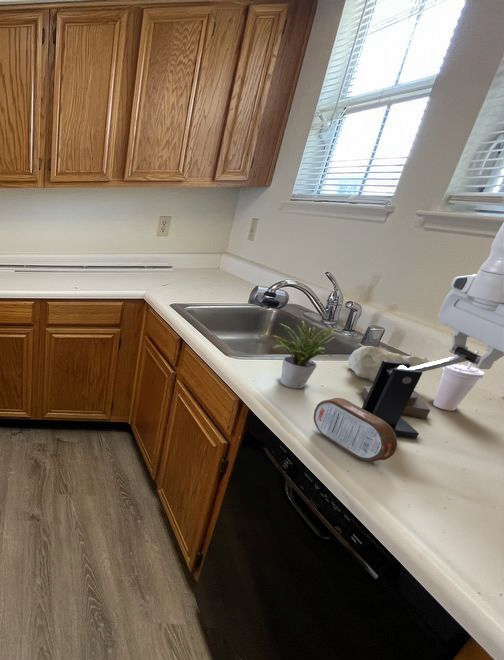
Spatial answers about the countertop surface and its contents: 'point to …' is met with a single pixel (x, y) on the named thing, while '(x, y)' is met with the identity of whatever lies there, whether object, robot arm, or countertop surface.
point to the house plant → (301, 356)
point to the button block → (408, 404)
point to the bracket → (393, 396)
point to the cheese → (378, 360)
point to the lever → (442, 361)
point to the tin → (355, 429)
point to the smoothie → (456, 384)
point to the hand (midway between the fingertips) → (467, 360)
